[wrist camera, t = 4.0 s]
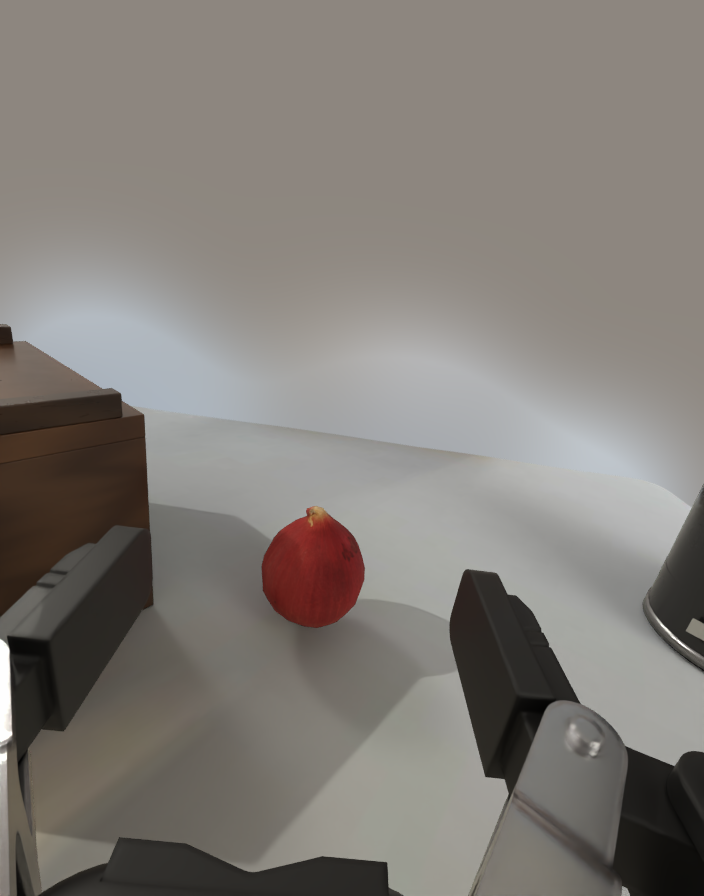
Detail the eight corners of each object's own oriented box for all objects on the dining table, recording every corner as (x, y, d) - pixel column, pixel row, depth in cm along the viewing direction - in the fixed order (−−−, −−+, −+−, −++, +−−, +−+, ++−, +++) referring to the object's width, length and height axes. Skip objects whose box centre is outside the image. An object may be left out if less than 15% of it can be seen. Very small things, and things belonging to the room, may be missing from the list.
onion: (324, 578, 30) (338, 475, 27) (373, 637, 26) (396, 522, 23) (243, 605, 27) (249, 491, 24) (285, 677, 22) (298, 550, 19)
